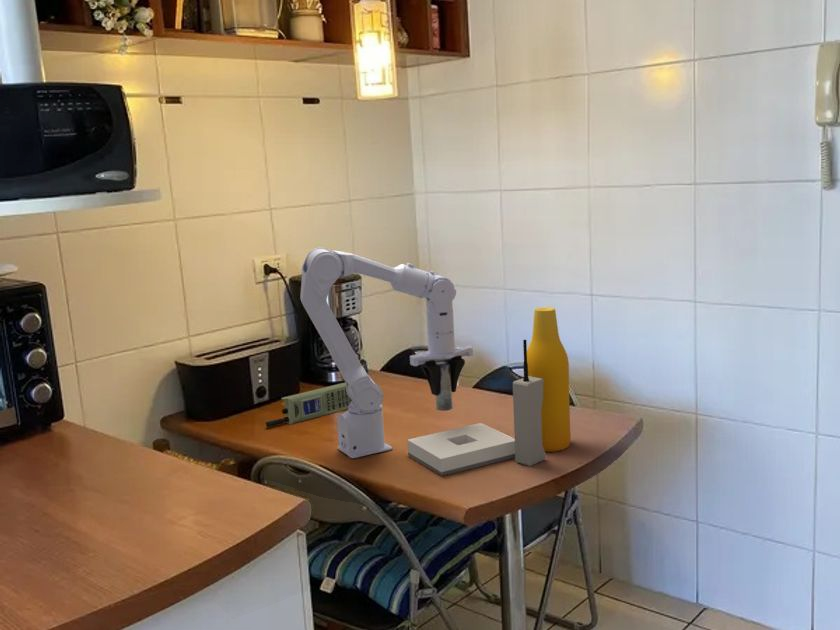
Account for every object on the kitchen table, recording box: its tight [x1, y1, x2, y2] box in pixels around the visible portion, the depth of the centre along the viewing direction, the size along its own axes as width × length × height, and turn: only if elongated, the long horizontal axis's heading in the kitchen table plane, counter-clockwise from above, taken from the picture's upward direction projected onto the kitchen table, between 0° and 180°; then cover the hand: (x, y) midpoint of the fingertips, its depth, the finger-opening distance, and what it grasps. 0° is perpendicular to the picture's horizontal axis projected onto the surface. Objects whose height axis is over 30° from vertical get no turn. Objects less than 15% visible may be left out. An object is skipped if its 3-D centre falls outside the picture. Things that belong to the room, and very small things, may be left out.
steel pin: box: [435, 361, 454, 412], centre depth 182 cm, size 4×4×10 cm
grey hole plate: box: [406, 422, 515, 477], centre depth 172 cm, size 18×14×4 cm
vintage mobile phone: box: [512, 339, 546, 467], centre depth 165 cm, size 4×5×25 cm
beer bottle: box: [527, 306, 571, 453], centre depth 174 cm, size 9×9×29 cm
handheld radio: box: [265, 381, 352, 428], centre depth 204 cm, size 7×3×25 cm
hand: (443, 392), depth 182 cm, fingers closed on steel pin, 4 cm apart
